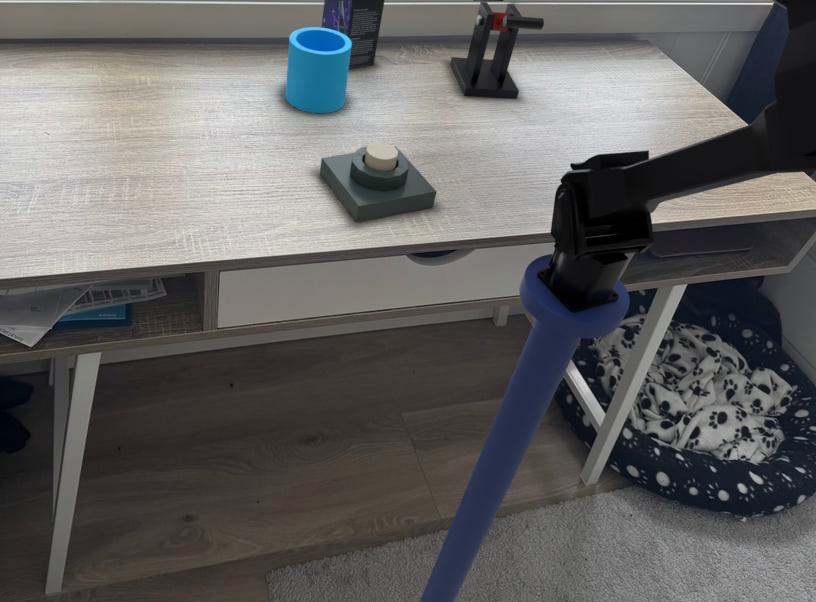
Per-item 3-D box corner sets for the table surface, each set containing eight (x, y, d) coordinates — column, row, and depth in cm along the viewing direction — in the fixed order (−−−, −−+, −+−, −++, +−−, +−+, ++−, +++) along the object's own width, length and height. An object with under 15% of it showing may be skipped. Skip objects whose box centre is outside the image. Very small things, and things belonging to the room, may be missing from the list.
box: (318, 47, 113) (325, -26, 105) (350, 43, 115) (359, -29, 107) (343, 70, 108) (351, -4, 100) (375, 65, 110) (386, -8, 103)
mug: (354, 109, 100) (362, 51, 94) (299, 116, 97) (303, 57, 91) (319, 69, 107) (325, 13, 102) (267, 74, 104) (269, 17, 99)
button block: (433, 207, 85) (440, 178, 82) (356, 222, 81) (360, 192, 78) (392, 161, 91) (398, 132, 88) (319, 173, 87) (322, 144, 85)
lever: (542, 34, 95) (545, 14, 94) (505, 31, 94) (508, 11, 93) (510, 31, 106) (512, 13, 105) (476, 29, 105) (479, 11, 104)
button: (401, 169, 83) (403, 156, 82) (373, 174, 82) (375, 161, 81) (386, 153, 85) (388, 140, 84) (359, 157, 84) (361, 144, 83)
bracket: (516, 98, 107) (538, 25, 100) (464, 95, 106) (482, 21, 99) (499, 67, 114) (518, -3, 107) (449, 64, 113) (465, -7, 106)
